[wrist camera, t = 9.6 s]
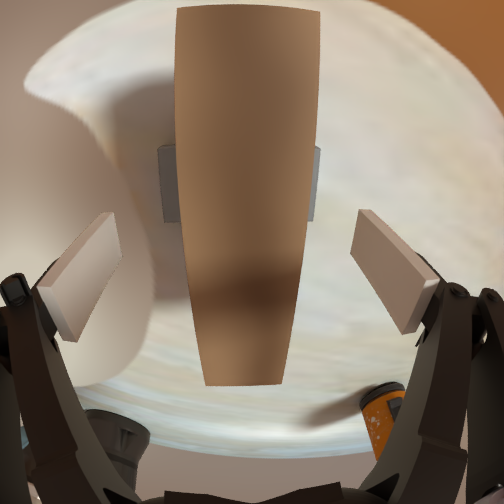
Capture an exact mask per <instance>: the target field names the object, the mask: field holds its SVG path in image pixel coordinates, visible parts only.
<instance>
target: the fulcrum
mask: <svg viewBox="0 0 504 504" xmlns="http://www.w3.org/2000/svg"><path fill="white" fill-rule="evenodd" d="M320 150H321V149H320V148H318V147H317V146H315V152H314V163H313V174H312V185H311V194H310V204H309V213H308V221H313V217H314V209H315V200H316V191H317V182H318V172H319V161H320ZM158 162H159V175H160V186H161V196H162V206H163V215H164V223H165V222H181V216H180V205H179V192H178V178H177V162H176V145H165V146H161V147H160V148H158Z"/></svg>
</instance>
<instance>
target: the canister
mask: <svg viewBox="0 0 504 504" xmlns="http://www.w3.org/2000/svg"><path fill="white" fill-rule="evenodd" d="M405 393H406V392H405V388H404V386H403V385H402V384H400V383H395V384H390V385H386V386H383V387H380V388H378V389H376V390H374V391H373V392H371V393H370V394H369V395H368V396H366V397H365V398H364V399H363V400H362V401H361V403H360V408H361V411H362V414H363V417H364V420H365V424H366V427H367V430H368V433H369V437H370V440H371V444H372V447H373V450H374V454H375V457H376V460H377V461H378V459H379V457H380V455H381V453H382V451H383V449H384V446H385V444H386V442H387V440H388V437H389V435H390V433H391V430H392V428H393V425H394V423H395V420H396V418H397V415H398V412H399V410H400V407H401V404H402V401H403V398H404V395H405Z"/></svg>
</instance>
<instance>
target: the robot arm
mask: <svg viewBox="0 0 504 504" xmlns="http://www.w3.org/2000/svg"><path fill="white" fill-rule="evenodd" d="M350 254H351V255H352V257H353V258H354V260H355V261H356V263H357V264H358V266H359V267H360V269H361V270H362V271H363V273H364V275H365V276H366V278H367V279H368V281H369V282H370V284H371V285H372V287H373V288H374V290H375V291H376V293H377V295H378V296H379V298H380V299H381V301H382V303H383V304H384V306H385V307H386V309H387V311H388V312H389V314H390V316H391V317H392V319H393V321H394V322H395V324H396V326H397V327H398V329H399V331H400V332H401V334H402V335H403V334H409V333H414V332H416V330H417V328H418V327H419V325H420V323H421V322H422V323H423V325H424V326H425V329H424V330H423V332H422V334H421V336H420V338H419V340H418V341H417V343H416V345H415V346H416V347H417V346H418V345H419V347H418V351H417V355H416V359H415V363H414V366H413V370H412V373H411V377H410V380H409V383H408V386H407V389H406V393H405V395H404V398H403V401H402V404H401V407H400V410H399V412H398V415H397V418H396V420H395V423H394V425H393V428H392V430H391V433H390V435H389V437H388V440H387V442H386V444H385V446H384V449H383V451H382V453H381V455H380V457H379V459H378V461H377V464H376V465H375V467H374V468H373V470H372V471H371V472H370V474H369V475H368V476H367V477H366V478H365V480H364V481H363V483H362V484H361V486H360V487H359V489H353V488H341V485H340V482H336V483H331V484H327V485H322V486H316V487H311V488H305V489H299V490H296V491H293V492H290V493H288V494H285V495H282V496H279V497H276V498H273V499H269V500H266V501H263V502H259V503H245V502H240V501H235V500H230V499H225V498H221V497H217V496H213V495H208V494H194V493H181V492H171V491H165V493H164V497H157V498H152V499H149V500H145V501H141V499H140V498H139V497H138V496H137V494H136V493H135V486H136V477H137V468H138V462H139V460H140V459H141V457H142V455H143V453H144V451H145V450H146V448H147V446H148V444H149V440H150V432H149V431H148V430H147V429H146V428H145V427H143V426H142V425H140V424H138V423H136V422H134V421H132V420H130V419H127V418H125V417H122V416H120V415H117V414H113V413H110V412H105V411H100V410H89V411H86V413H84V411H83V409H82V406H81V404H80V402H79V400H78V397H77V395H76V393H75V390H74V388H73V385H72V383H71V380H70V378H69V376H68V373H67V370H66V367H65V364H64V362H63V359H62V356H61V353H60V350H59V347H58V344H57V341H56V340H55V338H54V335H55V333H56V331H57V330H58V332H59V334H60V336H61V338H62V339H63V340H64V341H70V342H78V340H79V337H80V335H81V333H82V331H83V329H84V327H85V325H86V323H87V321H88V319H89V317H90V315H91V313H92V311H93V309H94V307H95V305H96V303H97V301H98V300H99V298H100V296H101V294H102V292H103V290H104V288H105V287H106V285H107V283H108V281H109V279H110V278H111V276H112V274H113V272H114V271H115V269H116V267H117V265H118V264H119V262H120V260H121V259H122V257H123V256H122V251H121V247H120V242H119V238H118V233H117V228H116V222H115V217H114V212H105V213H101V214H100V215H99V216H98V217H97V218H96V219H95V220H94V221H93V222H92V223H91V224H90V225H89V226H88V227H87V228H86V229H85V230H84V231H83V232H82V233H81V235H79V237H78V238H77V239H76V240H75V241H74V242H73V243H72V244H71V245H70V246H69V248H68V249H67V250H66V251H65V252H64V253H63V254H62V256H61V257H59V258H58V259H57V260H55V261H54V262H53V263H52V264H51V265H50V266H49V267H48V268H47V271H45V272H44V273H43V276H41V277H40V279H38V281H37V282H36V283H35V285H34V286H33V287H32V288H31V290H30V288H29V286H28V284H27V281H26V278H25V276H24V274H22V273H15V274H12V275H10V276H8V277H7V278H5V279H4V280H3V281H2V282H1V284H0V293H1V296H2V298H3V300H4V302H5V304H6V306H4V307H0V504H454V503H455V500H456V497H457V494H458V491H459V488H460V485H461V482H462V479H463V475H464V472H465V467H466V464H467V477H466V504H504V301H503V299H502V297H501V296H500V295H499V294H498V292H496V291H495V290H493V289H490V288H483V289H482V291H481V293H480V295H479V297H474V296H470V294H469V292H468V291H467V289H465V288H464V287H463V286H461V285H459V284H457V283H453V282H449V283H447V282H446V281H445V280H444V279H443V278H442V277H441V276H440V274H439V273H438V272H437V271H436V270H435V269H433V267H432V266H431V265H430V264H428V262H427V261H426V260H425V259H424V258H423V256H421V255H420V254H418V253H416V252H415V251H413V250H412V249H411V248H410V247H409V246H408V245H407V244H406V243H405V242H404V241H403V240H402V239H401V238H400V237H399V236H398V235H397V234H396V233H395V232H394V231H393V230H392V229H391V228H390V227H389V226H388V225H387V224H386V223H385V222H384V221H382V220H381V219H380V218H379V217H378V216H377V215H376V214H375V213H374V212H373V211H372V210H363V209H359V211H358V217H357V222H356V227H355V233H354V238H353V242H352V247H351V252H350ZM486 333H487V338H486V341H485V343H484V340H483V338H484V336H485V335H486ZM466 409H467V422H468V454H467V451H466V450H464V449H461V447H460V441H461V437H462V432H463V427H464V421H465V416H466ZM20 413H21V417H22V421H23V425H24V426H22V427H20ZM467 458H468V461H467Z"/></svg>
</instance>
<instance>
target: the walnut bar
mask: <svg viewBox="0 0 504 504" xmlns="http://www.w3.org/2000/svg"><path fill="white" fill-rule="evenodd" d="M319 64H320V12H318V11H312V10H306V9H299V8H290V7H281V6H268V5H245V4H227V5H203V6H191V7H181V8H177V17H176V35H175V69H174V105H175V141H176V162H177V178H178V192H179V205H180V216H181V226H182V236H183V246H184V254H185V263H186V271H187V278H188V286H189V293H190V300H191V307H192V313H193V320H194V326H195V332H196V338H197V343H198V349H199V355H200V360H201V365H202V370H203V375H204V380H205V385H206V386H256V385H276V384H282V379H283V374H284V369H285V364H286V359H287V353H288V348H289V343H290V337H291V331H292V325H293V320H294V313H295V307H296V301H297V295H298V288H299V282H300V275H301V268H302V261H303V253H304V246H305V238H306V230H307V221H308V213H309V204H310V194H311V185H312V174H313V163H314V152H315V139H316V125H317V109H318V90H319Z"/></svg>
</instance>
